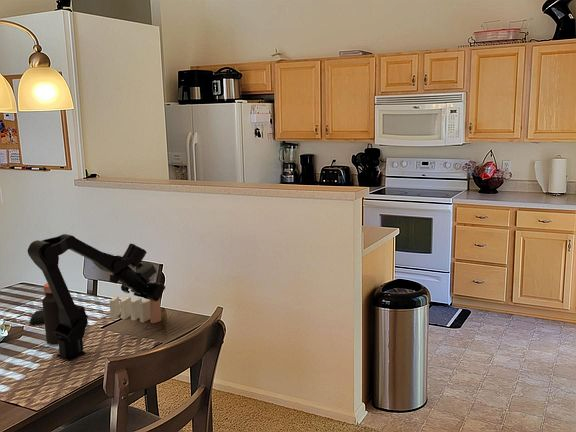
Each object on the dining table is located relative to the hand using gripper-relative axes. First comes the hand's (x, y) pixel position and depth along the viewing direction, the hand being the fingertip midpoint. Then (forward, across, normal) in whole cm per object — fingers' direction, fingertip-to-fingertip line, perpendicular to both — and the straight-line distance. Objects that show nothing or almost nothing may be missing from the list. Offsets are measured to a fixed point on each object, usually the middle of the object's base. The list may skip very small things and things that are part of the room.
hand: (156, 298), depth 207 cm
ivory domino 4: (+5, +4, +7) cm, 10 cm away
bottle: (-17, +14, +28) cm, 36 cm away
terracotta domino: (+5, 0, +7) cm, 9 cm away
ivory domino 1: (+2, +17, +10) cm, 20 cm away
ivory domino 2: (+3, +13, +9) cm, 16 cm away
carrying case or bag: (-9, +34, +22) cm, 42 cm away
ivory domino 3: (+4, +9, +8) cm, 13 cm away
